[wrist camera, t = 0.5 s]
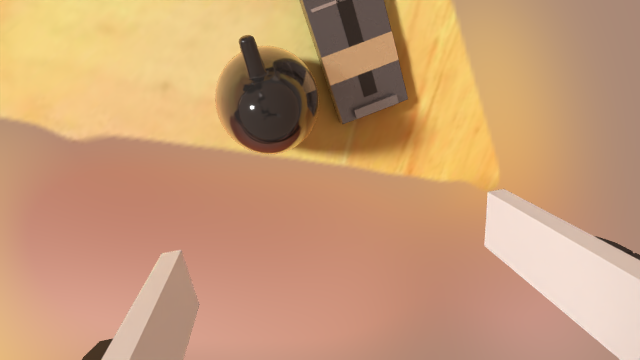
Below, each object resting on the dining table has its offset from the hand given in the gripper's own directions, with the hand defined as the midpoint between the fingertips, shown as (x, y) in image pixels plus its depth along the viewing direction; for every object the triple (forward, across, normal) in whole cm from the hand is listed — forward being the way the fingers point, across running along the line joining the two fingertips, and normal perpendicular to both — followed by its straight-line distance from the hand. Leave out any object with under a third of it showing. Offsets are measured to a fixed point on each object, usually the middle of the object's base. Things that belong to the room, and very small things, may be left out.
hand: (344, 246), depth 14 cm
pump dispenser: (+27, -2, +4) cm, 27 cm away
